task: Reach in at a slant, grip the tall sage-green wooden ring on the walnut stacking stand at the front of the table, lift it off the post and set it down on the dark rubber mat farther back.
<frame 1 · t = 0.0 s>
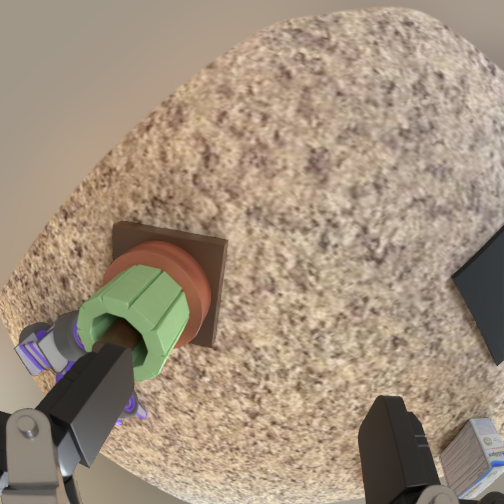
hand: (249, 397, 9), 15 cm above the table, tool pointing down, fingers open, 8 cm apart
medicine box: (463, 435, 29), on the table
green ring: (149, 304, 22), point 4 cm above the table, touching stand
toy race car: (94, 366, 30), on the table
stand: (168, 281, 25), on the table
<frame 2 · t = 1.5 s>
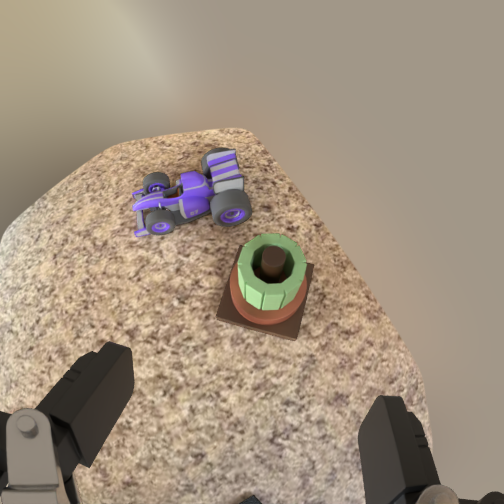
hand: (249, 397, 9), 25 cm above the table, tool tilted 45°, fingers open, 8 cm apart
green ring: (268, 282, 33), point 4 cm above the table, touching stand
toy race car: (188, 205, 41), on the table
stand: (266, 294, 36), on the table
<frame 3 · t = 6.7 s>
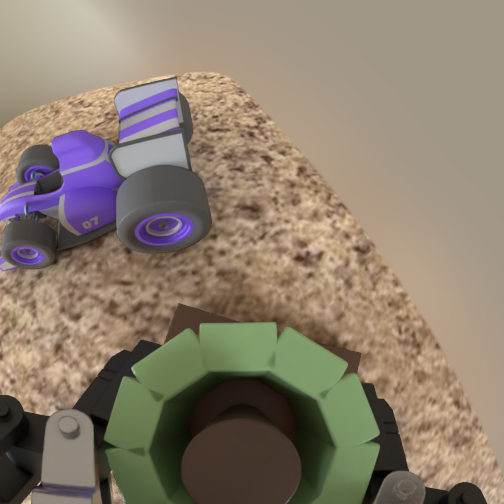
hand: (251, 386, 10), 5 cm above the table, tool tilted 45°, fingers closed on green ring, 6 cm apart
green ring: (242, 429, 10), point 4 cm above the table, touching gripper, stand
toy race car: (94, 206, 19), on the table
stand: (242, 420, 14), on the table
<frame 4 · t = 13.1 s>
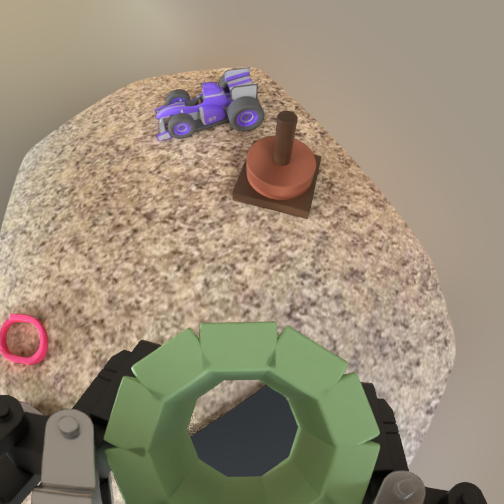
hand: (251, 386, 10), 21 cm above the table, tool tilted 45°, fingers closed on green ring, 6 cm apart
mat: (237, 453, 25), on the table
green ring: (242, 429, 10), point 19 cm above the table, touching gripper
toy race car: (206, 118, 44), on the table
fitness band: (26, 340, 29), on the table
stand: (278, 180, 39), on the table
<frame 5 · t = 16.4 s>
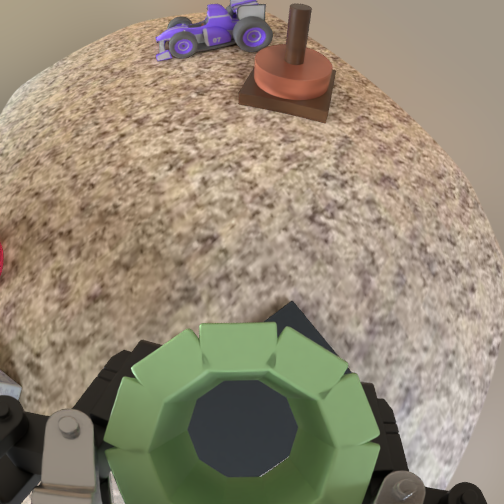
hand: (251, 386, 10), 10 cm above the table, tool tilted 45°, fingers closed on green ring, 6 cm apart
mat: (243, 413, 18), on the table
green ring: (242, 430, 10), point 9 cm above the table, touching gripper
toy race car: (210, 43, 36), on the table
stand: (290, 89, 31), on the table
when the fingers open (2 cm above the table, at t = 19.3 s): green ring stays where it is, resting on mat.
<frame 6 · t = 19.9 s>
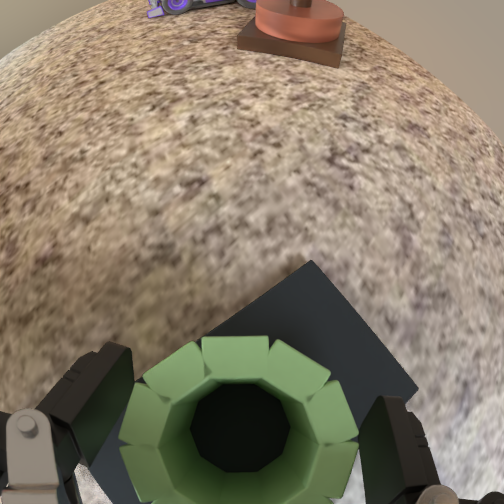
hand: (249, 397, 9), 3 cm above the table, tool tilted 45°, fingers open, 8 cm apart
mat: (240, 426, 12), on the table
green ring: (239, 429, 11), point 1 cm above the table, touching mat
toy race car: (207, 3, 30), on the table
stand: (296, 38, 25), on the table
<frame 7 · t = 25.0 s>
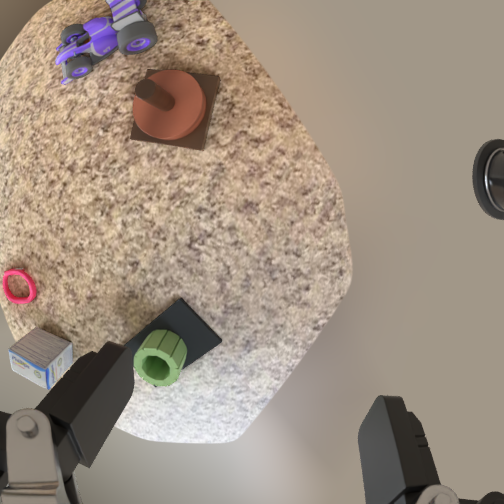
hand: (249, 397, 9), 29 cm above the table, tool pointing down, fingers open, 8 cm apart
medicine box: (55, 343, 43), on the table
mat: (167, 345, 42), on the table
green ring: (166, 348, 41), point 1 cm above the table, touching mat
toy race car: (105, 42, 32), on the table
fitness band: (21, 284, 41), on the table
stand: (176, 109, 34), on the table
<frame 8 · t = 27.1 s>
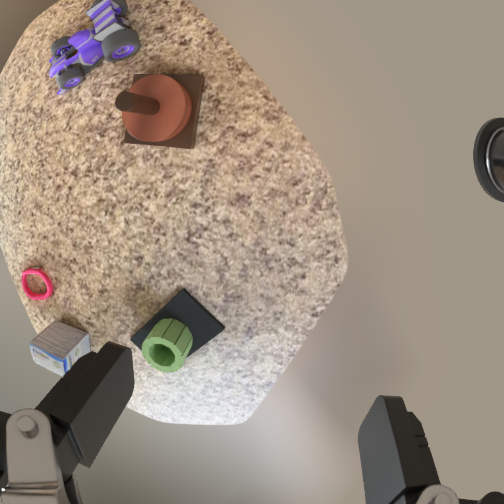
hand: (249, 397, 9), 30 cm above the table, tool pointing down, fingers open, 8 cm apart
medicine box: (73, 334, 49), on the table
mat: (174, 333, 45), on the table
green ring: (173, 335, 45), point 1 cm above the table, touching mat
toy race car: (94, 50, 33), on the table
fitness band: (39, 281, 46), on the table
stand: (165, 110, 35), on the table
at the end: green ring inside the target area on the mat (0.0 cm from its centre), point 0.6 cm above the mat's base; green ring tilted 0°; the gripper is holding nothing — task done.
